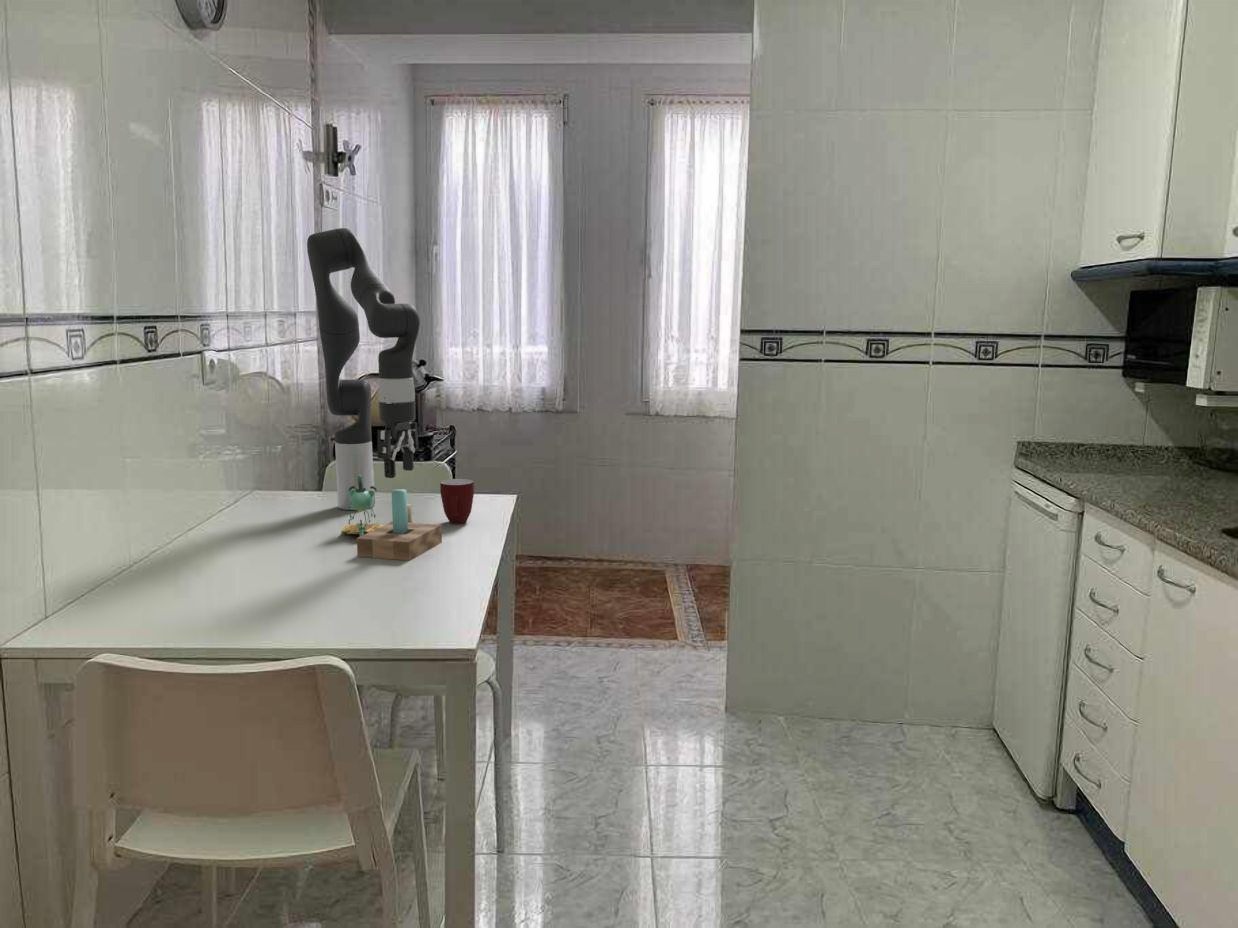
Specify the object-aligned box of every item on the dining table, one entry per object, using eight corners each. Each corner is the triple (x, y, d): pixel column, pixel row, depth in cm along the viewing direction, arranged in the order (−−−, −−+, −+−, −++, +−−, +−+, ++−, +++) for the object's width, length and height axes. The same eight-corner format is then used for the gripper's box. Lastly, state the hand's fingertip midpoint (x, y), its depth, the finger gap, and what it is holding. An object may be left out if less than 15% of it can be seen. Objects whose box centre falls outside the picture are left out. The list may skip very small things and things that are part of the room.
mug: (474, 527, 231) (473, 486, 229) (440, 528, 229) (439, 487, 228) (474, 517, 241) (473, 478, 239) (441, 518, 240) (440, 479, 238)
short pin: (402, 532, 225) (401, 503, 224) (414, 533, 225) (413, 504, 223) (395, 536, 222) (394, 506, 221) (408, 536, 222) (407, 507, 220)
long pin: (397, 546, 213) (395, 488, 211) (411, 547, 212) (409, 489, 210) (390, 550, 210) (388, 491, 208) (404, 551, 209) (402, 492, 207)
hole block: (393, 538, 220) (392, 521, 219) (441, 542, 217) (441, 524, 216) (357, 556, 205) (356, 538, 204) (409, 560, 202) (408, 542, 201)
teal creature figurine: (328, 543, 216) (326, 477, 215) (352, 533, 234) (351, 472, 233) (371, 543, 215) (369, 477, 214) (392, 533, 233) (391, 471, 232)
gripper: (396, 394, 213) (398, 467, 216) (364, 402, 199) (367, 479, 202) (427, 395, 211) (429, 468, 214) (397, 403, 198) (400, 481, 200)
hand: (399, 473), depth 208 cm, fingers open, 8 cm apart
